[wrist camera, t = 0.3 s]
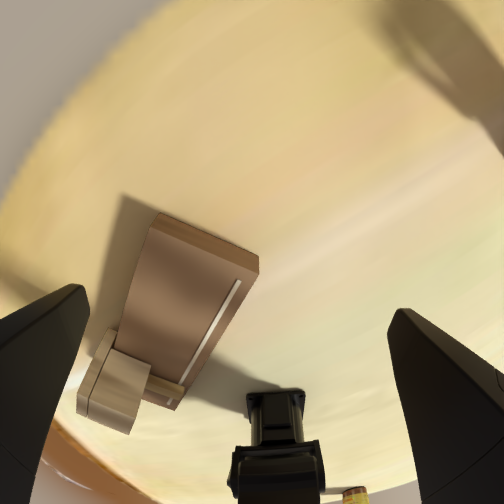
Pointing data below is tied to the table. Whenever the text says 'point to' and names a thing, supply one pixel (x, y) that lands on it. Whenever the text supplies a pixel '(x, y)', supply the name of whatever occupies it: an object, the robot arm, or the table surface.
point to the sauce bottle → (356, 496)
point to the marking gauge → (118, 387)
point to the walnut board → (182, 301)
